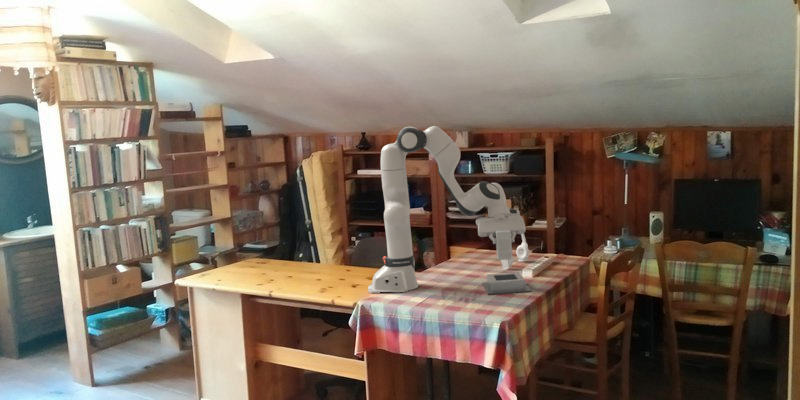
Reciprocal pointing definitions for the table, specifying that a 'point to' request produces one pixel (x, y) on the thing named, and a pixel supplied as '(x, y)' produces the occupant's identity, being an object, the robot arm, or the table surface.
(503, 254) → the skincare box
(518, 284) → the grey square stand
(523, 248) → the headset
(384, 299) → the table surface
